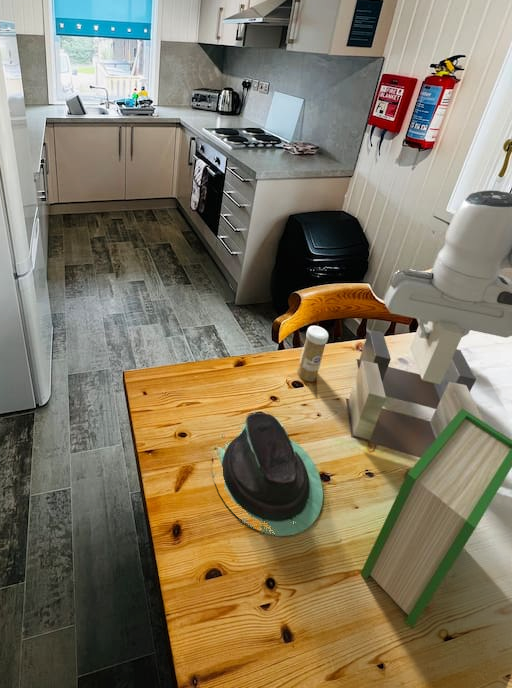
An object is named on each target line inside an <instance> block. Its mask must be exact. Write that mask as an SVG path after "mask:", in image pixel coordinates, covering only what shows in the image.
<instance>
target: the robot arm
mask: <svg viewBox="0 0 512 688" xmlns="http://www.w3.org/2000/svg"><path fill="white" fill-rule="evenodd" d="M444 237H445V239H444V240H445V241H444V245H443V246H442V248H441V249H440V250H439V251H438V253H437V256H436V257H435V258H436V259H435V261H434V263H433V265H432V269H431V271H430V272H428V271H423V270H413V269H411V268H404V269H400V270H396V271H395V272H393V274H392V276H391V279H390V286H388V290H387V291H386V293H385V295H384V298H383V301H384V305H385V309H387V310H388V313H390V314H392V315H398V316H401V317H407V318H411V319H412V318H413V319H416V321H417V324H418V326H419V328H418V327H417V329H418V331H417V330H416V332H417V334H418V336H419V338H424V339H428V338H429V336H430V334H431V333H430V331H429V328H428V327H425V326H424V324H425V325H427V324H428V322H429V321H430V322H435V323H438V321H441V322H446V323H451V324H455V325H458V327H459V329H460V330H461V332H462V334H463V336H462V338H464V337H466V336H468V335H469V333H470V332H471V331H473V332H478V333H482V334H486V335H491V336H496V337H500V338H510V337H512V280H511V279H510V278H509V277H507V276H505V275H503V274H501V272H502V270H504V269H507V268H508V269H512V192H507V191H502V190H501V191H500V190H494V189H493V190H492V189H489V190H487V189H486V190H479V191H475V192H472V193H470V194H468V195H467V196H466V197H465V198H464V199H463V200H462V201H461V202H460V204H459V205H458V207H457V208H456V210H455V212H454V214H453V216H452V218H451V220H450V222H449V224H448V227H447V229H446V233H445V236H444Z"/></svg>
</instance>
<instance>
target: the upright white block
mask: <svg viewBox="0 0 512 688" xmlns="http://www.w3.org/2000/svg"><path fill="white" fill-rule="evenodd" d="M424 326H425V327H428V328H429V331H430V333H431V334H430V336H429V338H428V339H424V338H419V336H418V334H417V331H418V328H419V325H418V327H417V329H416V332H415V334H414V337H413V339H412V341H411V344H410V347H409V348H410V349H409V350H410V351H411V354H412V357H413V360H414V362H415V365H416V367H417V370H418V374H420V376H421V379H422V380H424V381H428V382H432V383H436V384H441V381H442V379H443V377H444V375H445V373H446V370H447V368H448V366H449V364H450V362H451V360H452V357H453V355H454V353H455V351H456V349H457V348H458V346H459V344H460V343H461V340H462V338H463V337H464V336H463V334H462V332H461V330H460V329H459V327H458V325H455V324H451V323H446V322H441V321H438V323H435V322H430V321H429V322H428V324H427V325H425V324H424ZM462 336H463V337H462Z"/></svg>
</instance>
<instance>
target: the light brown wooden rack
mask: <svg viewBox="0 0 512 688" xmlns="http://www.w3.org/2000/svg"><path fill="white" fill-rule="evenodd" d="M386 400H387V396H386V395H385V392H384V388H383V384H382V380H381V376H380V372H379V368H378V364H376V363H372V362H368V361H364V360H362V361H361V364H360V367H359V370H358V371H357V374H356V376H355V379H354V383H353V386H352V389H351V392H350V395H349V397H348V398H347V397H345V404H346V411H347V418H348V425H349V431H350V437H351V438H353V439H356V440H360V441H363V442H367V443H368V444H373V445H377V446H378V447H379V446H380V447H383V448H385V449H390V450H393V451H397V452H399V453H403V454H406V455H410V456H413V457H417V458H419V459H420V458H421V457H422V456H423V454H424V453H425V452H426V451H427V450H428V448H429V447H430V446H431V445H432V444H433V442H434V441H435V440H436V439H437V438H438V436H439V435H440V434H441V433H442V432H443V430H444V429H445V428H446V427H447V426H448V424H449V423H450V422H451V421H452V420H453V418H454V417H455V416H456V415H457V414H458V412H459V411H460V410H461V409H464V410H466V411H467V412H469V413H470V414H472V415H473V416H475V417H477V418H478V419H480V420H481V421H483V422H485V420H484V418H483V416H482V414H481V412H480V409H479V408H478V406H477V404H476V401H475V399H474V398H473V396H472V394H471V391H470V392H469V390H468V388H467V386H466V385H462V384H458V383H453V382H449V383H448V385H447V387H446V389H445V392H444V394H443V396H442V398H441V400H440V402H439V404H438V407H437V409H435V411H434V413H433V415H432V418H431V419H430V420H428V419H424V418H421V417H417V416H413V415H409V414H405V413H402V412H398V411H394V410H390V409H387V408H384V405H385V402H386Z"/></svg>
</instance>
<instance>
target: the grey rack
mask: <svg viewBox="0 0 512 688" xmlns="http://www.w3.org/2000/svg"><path fill="white" fill-rule="evenodd" d="M391 359H392V358H391V355H390V352H389V349H388V345H387V342H386V339H385V335H384V332H381V331H378V330H372V329H369V330H368V332H367V336H366V338H365V341H364V344H363V348H362V351H361V354H360V357H359V359H358V358H356V363H357V364H356V365H357V369H358V370H359V367H360V364H361V361H362V360H364V361H368V362H372V363H376V364H378V368H379V372H380V376H381V380H382V384H383V388H384V392H385V395H386V397H389V398H393V399H396V400H402V401H404V402H408V403H413V404H416V405H419V406H423V407H428V408H431V409H435V410H436V409H437V407H438V404H439V402H440V400H441V398H442V396H443V394H444V392H445V389H446V387H447V385H448V383H449V382H453V383H458V384H462V385H466V386H467V388H468V390H469V392H470V393H471V391H472V389H473V387H474V384H475V383H476V381H477V378H476V376H475V375H474V373H473V370H472V369H471V367H470V365H469V363H468V361H467V360H466V358H465V356H464V354H463V352H462V350H461V349H456V351H455V353H454V355H453V357H452V360H451V362H450V364H449V366H448V368H447V370H446V373H445V375H444V377H443V379H442V381H441V384H436V383H432V382H428V381H424V380H422V379H421V376H420V373H416V372H412V371H407V370H404V369H398V368H395V367H391V366H390V363H391Z"/></svg>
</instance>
